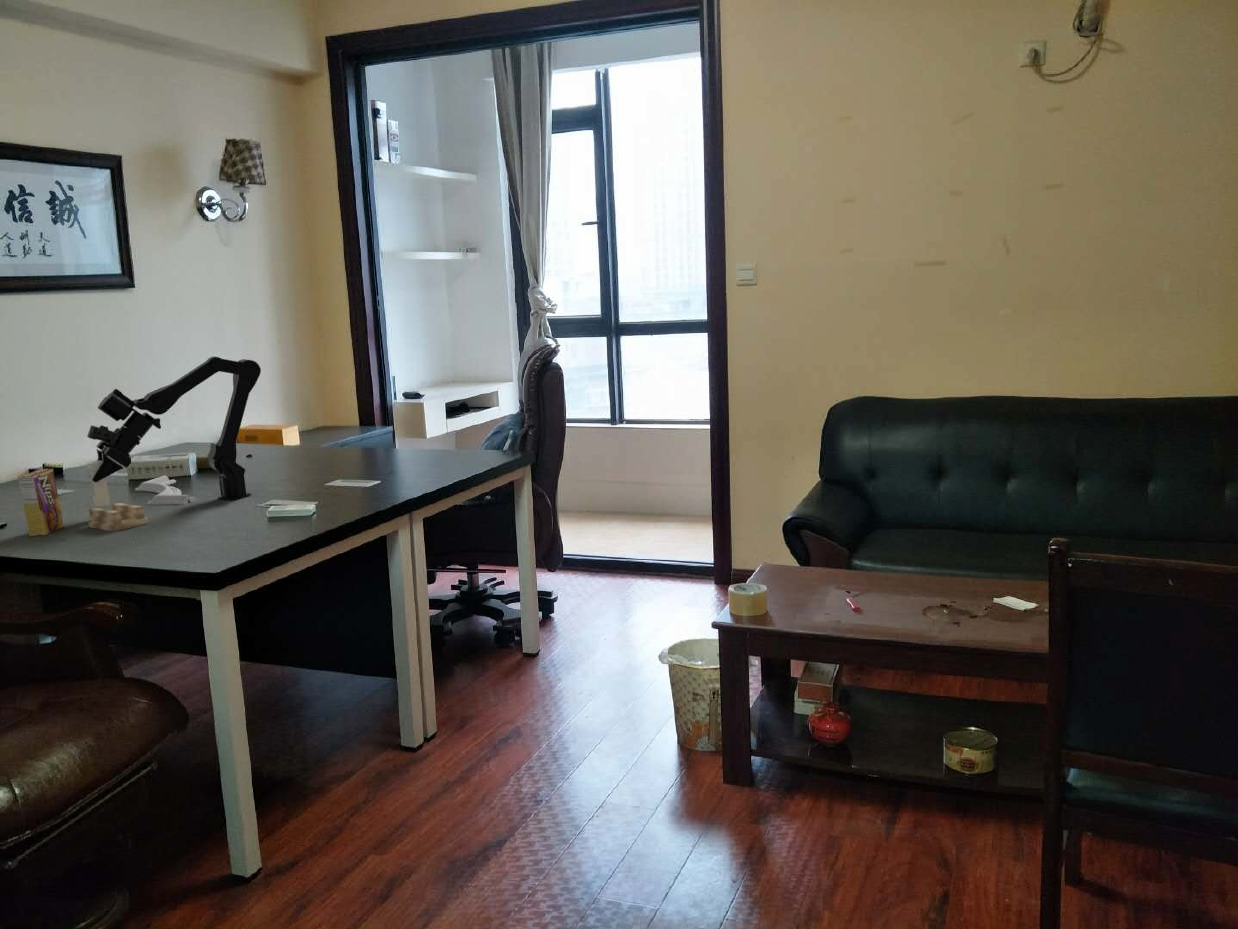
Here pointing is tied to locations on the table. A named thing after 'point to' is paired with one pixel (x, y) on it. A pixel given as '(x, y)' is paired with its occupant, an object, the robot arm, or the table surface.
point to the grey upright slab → (98, 485)
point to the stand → (117, 517)
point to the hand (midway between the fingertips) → (92, 479)
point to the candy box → (41, 502)
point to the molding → (164, 492)
